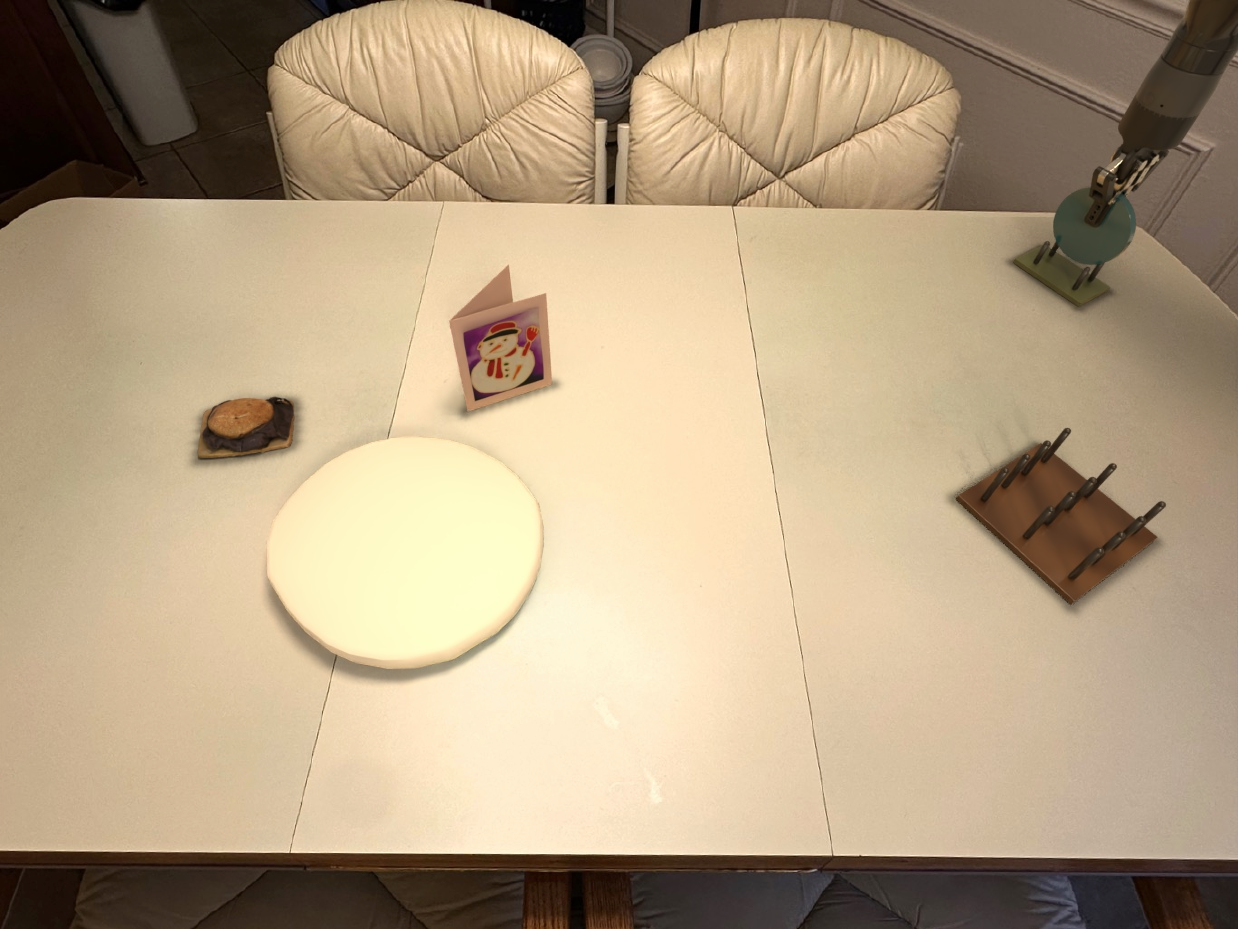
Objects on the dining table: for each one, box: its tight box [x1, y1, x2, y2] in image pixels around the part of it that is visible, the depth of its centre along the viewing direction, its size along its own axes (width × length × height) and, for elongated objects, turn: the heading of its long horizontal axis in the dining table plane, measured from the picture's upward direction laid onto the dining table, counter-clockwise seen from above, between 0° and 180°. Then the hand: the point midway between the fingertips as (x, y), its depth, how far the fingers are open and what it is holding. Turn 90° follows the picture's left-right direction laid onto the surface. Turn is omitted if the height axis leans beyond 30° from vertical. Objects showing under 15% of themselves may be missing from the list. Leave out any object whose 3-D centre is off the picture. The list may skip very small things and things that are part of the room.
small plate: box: [1052, 185, 1137, 266], centre depth 105 cm, size 1×11×11 cm, turn 32°
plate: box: [265, 436, 545, 670], centre depth 78 cm, size 28×6×27 cm
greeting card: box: [448, 264, 553, 412], centre depth 90 cm, size 11×7×15 cm, turn 116°
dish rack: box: [955, 427, 1167, 605], centre depth 83 cm, size 15×16×7 cm
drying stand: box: [1012, 240, 1111, 308], centre depth 111 cm, size 7×12×5 cm, turn 33°
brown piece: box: [196, 396, 295, 459], centre depth 89 cm, size 11×8×4 cm
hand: (1095, 221), depth 105 cm, fingers closed on small plate, 1 cm apart
